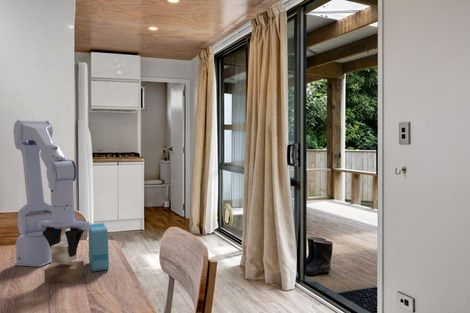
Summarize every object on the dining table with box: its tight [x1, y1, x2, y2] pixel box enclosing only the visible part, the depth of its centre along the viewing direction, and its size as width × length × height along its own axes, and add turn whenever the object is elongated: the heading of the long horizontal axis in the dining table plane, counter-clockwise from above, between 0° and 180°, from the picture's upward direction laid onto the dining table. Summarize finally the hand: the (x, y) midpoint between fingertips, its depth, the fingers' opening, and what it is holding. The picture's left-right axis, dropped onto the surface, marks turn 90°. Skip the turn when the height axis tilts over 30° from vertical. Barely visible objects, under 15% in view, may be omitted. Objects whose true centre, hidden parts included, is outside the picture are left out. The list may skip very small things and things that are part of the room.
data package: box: [87, 222, 110, 272], centre depth 122 cm, size 12×4×12 cm, turn 24°
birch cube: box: [51, 241, 78, 264], centre depth 111 cm, size 4×4×4 cm
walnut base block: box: [43, 260, 85, 285], centre depth 111 cm, size 8×7×4 cm
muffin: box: [60, 229, 70, 242], centre depth 145 cm, size 6×6×7 cm
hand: (64, 255), depth 111 cm, fingers closed on birch cube, 4 cm apart
